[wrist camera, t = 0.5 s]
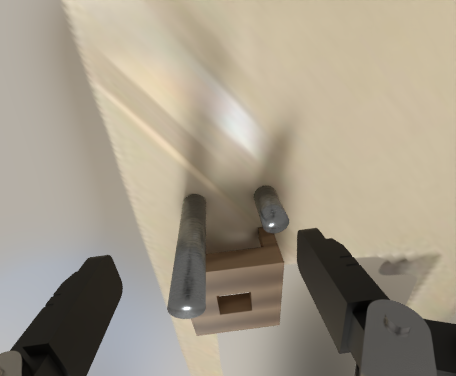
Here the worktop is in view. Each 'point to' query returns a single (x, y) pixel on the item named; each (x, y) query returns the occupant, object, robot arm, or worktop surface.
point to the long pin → (190, 262)
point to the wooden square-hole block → (243, 288)
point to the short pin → (270, 210)
